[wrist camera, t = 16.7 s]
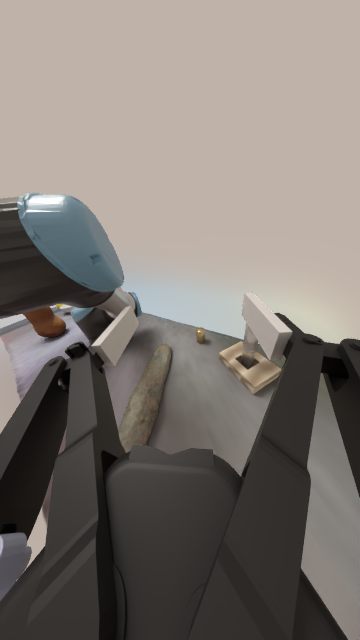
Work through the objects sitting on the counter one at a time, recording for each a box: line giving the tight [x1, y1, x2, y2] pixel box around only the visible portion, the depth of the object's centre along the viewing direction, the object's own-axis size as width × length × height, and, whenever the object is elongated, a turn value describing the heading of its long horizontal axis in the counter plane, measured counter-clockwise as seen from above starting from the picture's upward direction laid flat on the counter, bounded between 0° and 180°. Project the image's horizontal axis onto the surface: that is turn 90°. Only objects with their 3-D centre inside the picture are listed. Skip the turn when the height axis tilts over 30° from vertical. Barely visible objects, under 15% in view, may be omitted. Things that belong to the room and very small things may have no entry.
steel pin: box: [240, 322, 258, 370], centre depth 36 cm, size 4×4×20 cm
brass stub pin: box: [196, 328, 205, 344], centre depth 54 cm, size 4×4×6 cm
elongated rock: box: [119, 344, 172, 453], centre depth 41 cm, size 35×5×10 cm
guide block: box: [219, 341, 281, 394], centre depth 41 cm, size 14×10×4 cm
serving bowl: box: [60, 304, 75, 313], centre depth 115 cm, size 21×21×7 cm
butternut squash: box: [22, 307, 66, 338], centre depth 76 cm, size 14×13×25 cm
